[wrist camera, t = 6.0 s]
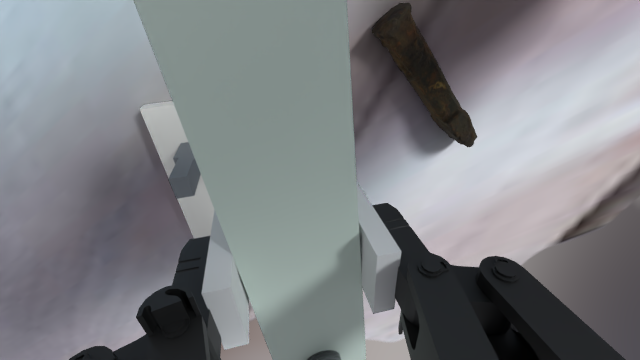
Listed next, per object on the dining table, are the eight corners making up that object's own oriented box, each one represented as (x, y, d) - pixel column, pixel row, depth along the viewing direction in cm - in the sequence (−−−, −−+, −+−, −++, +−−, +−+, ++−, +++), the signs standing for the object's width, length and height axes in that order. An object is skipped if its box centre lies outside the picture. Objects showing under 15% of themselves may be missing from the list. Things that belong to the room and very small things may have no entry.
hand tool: (364, 28, 30) (380, 32, 26) (396, -1, 29) (418, -1, 25) (437, 150, 39) (457, 166, 36) (463, 131, 39) (486, 145, 35)
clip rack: (302, 84, 31) (318, 110, 23) (319, 246, 44) (333, 296, 36) (144, 104, 29) (106, 140, 21) (210, 268, 42) (201, 326, 34)
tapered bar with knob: (287, -39, 12) (359, -121, 4) (329, 263, 21) (374, 402, 14) (187, -28, 11) (70, -98, 4) (275, 276, 21) (292, 428, 13)
